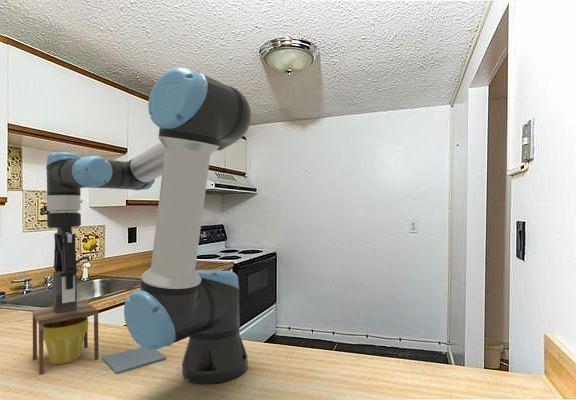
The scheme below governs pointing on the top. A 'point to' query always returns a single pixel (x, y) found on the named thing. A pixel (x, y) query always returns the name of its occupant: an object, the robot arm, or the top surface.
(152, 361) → the mat
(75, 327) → the plant pot
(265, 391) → the top surface
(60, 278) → the brown legged piece
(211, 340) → the robot arm
